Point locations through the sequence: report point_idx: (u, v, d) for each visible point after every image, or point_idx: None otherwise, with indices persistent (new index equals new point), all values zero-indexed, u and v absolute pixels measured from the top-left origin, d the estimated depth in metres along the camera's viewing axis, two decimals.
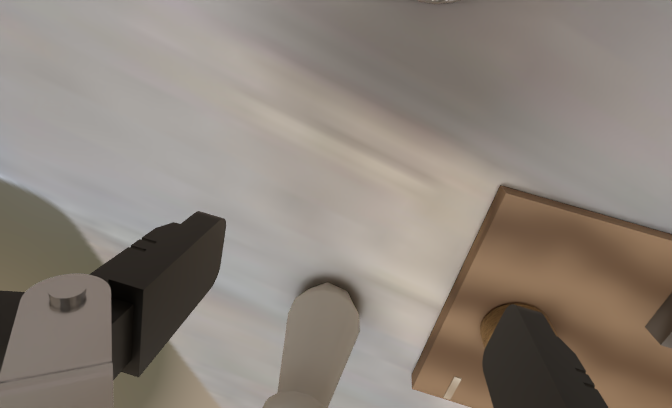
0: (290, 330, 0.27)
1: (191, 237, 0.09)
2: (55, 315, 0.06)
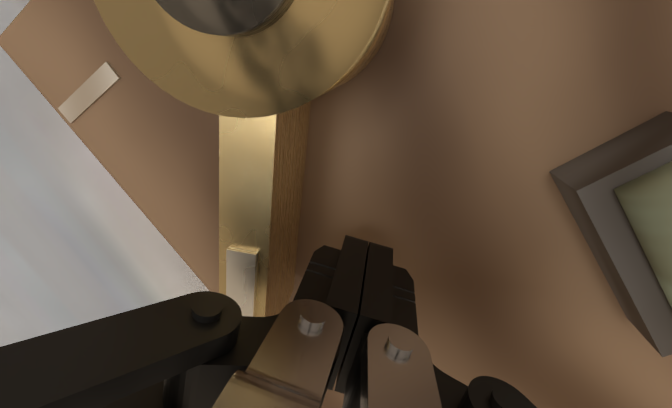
0: None
1: (358, 261, 0.10)
2: (317, 340, 0.07)
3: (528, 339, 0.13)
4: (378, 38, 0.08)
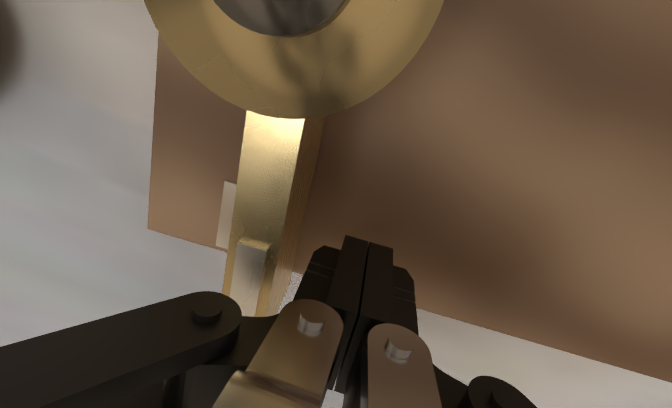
0: None
1: (358, 261, 0.10)
2: (317, 340, 0.07)
3: None
4: None
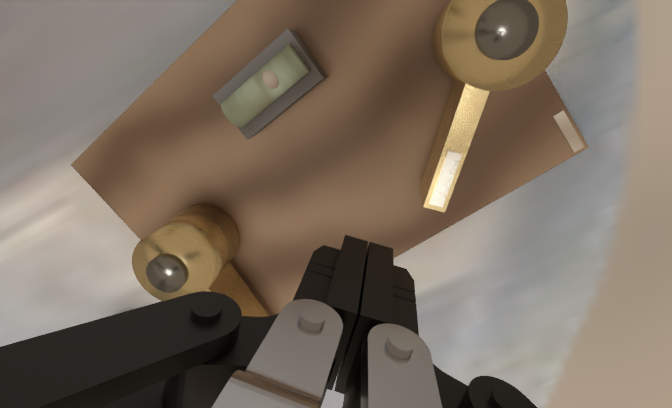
0: None
1: (358, 261, 0.10)
2: (317, 340, 0.07)
3: (350, 124, 0.24)
4: (222, 249, 0.25)
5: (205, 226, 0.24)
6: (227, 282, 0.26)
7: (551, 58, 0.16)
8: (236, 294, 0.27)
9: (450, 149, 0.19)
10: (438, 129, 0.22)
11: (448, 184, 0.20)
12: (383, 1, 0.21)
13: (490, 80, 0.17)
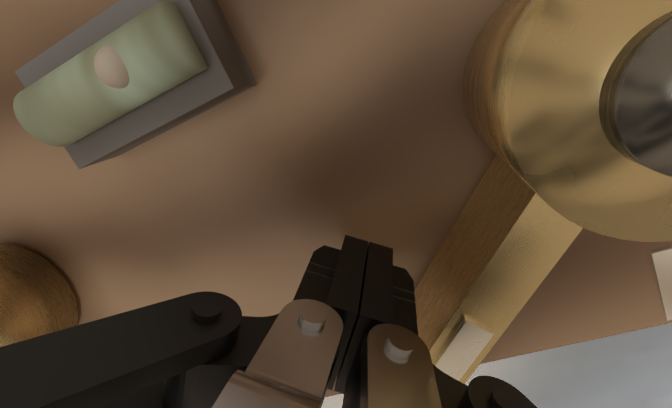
0: None
1: (358, 261, 0.10)
2: (317, 340, 0.07)
3: (285, 178, 0.13)
4: None
5: None
6: None
7: None
8: None
9: (469, 316, 0.09)
10: None
11: None
12: None
13: (612, 211, 0.06)
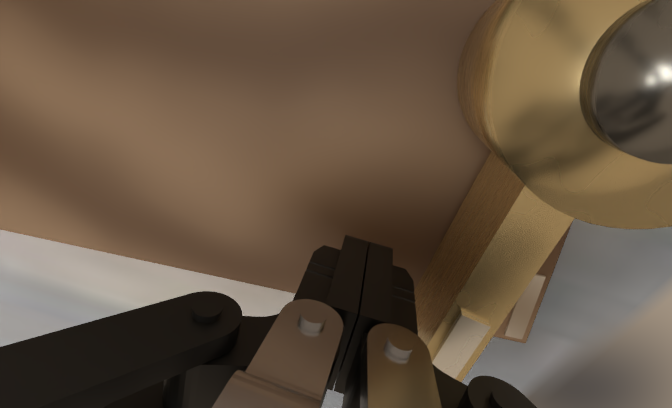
0: None
1: (358, 261, 0.10)
2: (317, 340, 0.07)
3: (258, 24, 0.11)
4: None
5: None
6: None
7: None
8: None
9: (465, 310, 0.09)
10: (446, 232, 0.12)
11: (451, 373, 0.09)
12: None
13: (598, 199, 0.06)
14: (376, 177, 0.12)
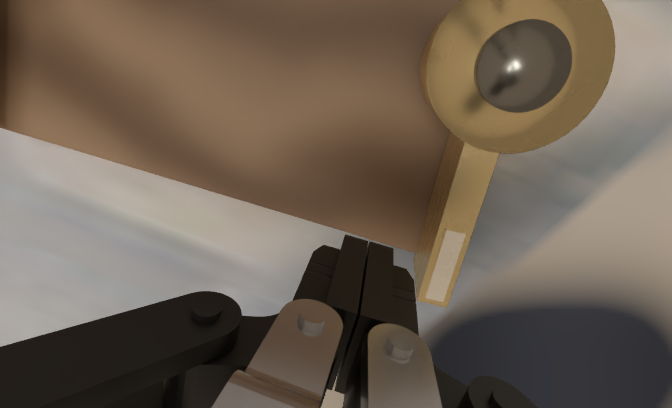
0: None
1: (358, 261, 0.10)
2: (316, 340, 0.07)
3: (285, 6, 0.16)
4: None
5: None
6: None
7: (591, 105, 0.11)
8: None
9: (448, 227, 0.14)
10: None
11: (449, 272, 0.14)
12: None
13: (501, 139, 0.11)
14: (356, 128, 0.17)
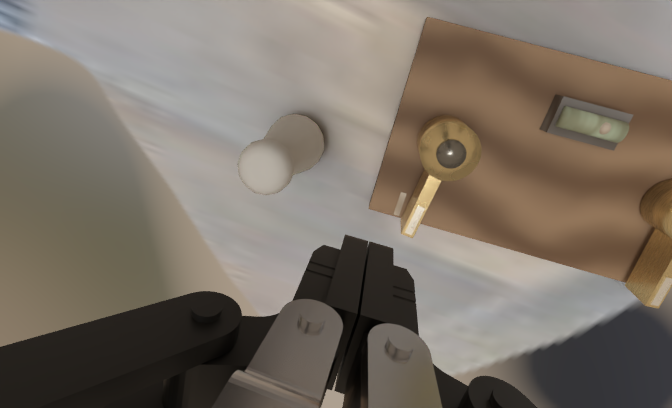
0: (267, 133, 0.35)
1: (358, 261, 0.10)
2: (316, 340, 0.07)
3: (580, 175, 0.36)
4: None
5: None
6: None
7: None
8: None
9: (666, 276, 0.34)
10: None
11: (662, 293, 0.34)
12: (664, 147, 0.34)
13: None
14: (603, 225, 0.37)
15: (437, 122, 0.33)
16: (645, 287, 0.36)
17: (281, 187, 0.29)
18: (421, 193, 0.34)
